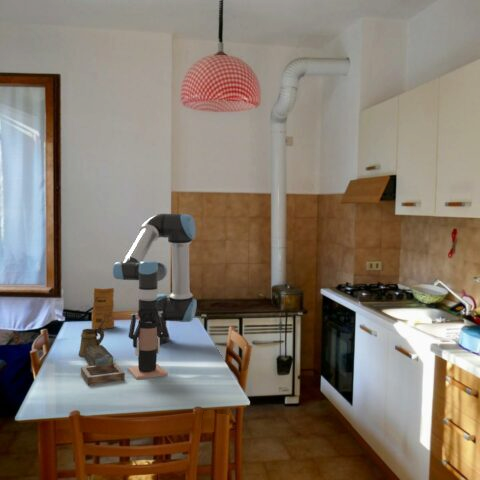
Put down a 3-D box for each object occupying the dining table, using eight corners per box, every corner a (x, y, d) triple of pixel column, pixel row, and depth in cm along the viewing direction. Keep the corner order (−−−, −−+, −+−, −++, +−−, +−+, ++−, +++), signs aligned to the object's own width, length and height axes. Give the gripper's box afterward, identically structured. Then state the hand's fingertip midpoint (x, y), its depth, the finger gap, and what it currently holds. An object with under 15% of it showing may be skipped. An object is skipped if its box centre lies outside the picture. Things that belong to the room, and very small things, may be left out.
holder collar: (115, 370, 220) (115, 363, 219) (124, 380, 207) (124, 372, 207) (80, 374, 213) (80, 367, 213) (88, 385, 201) (88, 377, 201)
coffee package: (92, 325, 300) (92, 286, 298) (115, 325, 301) (115, 286, 300) (89, 329, 290) (90, 289, 289) (113, 329, 291) (113, 289, 290)
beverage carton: (94, 372, 217) (94, 356, 216) (84, 360, 233) (84, 345, 233) (113, 370, 220) (113, 354, 220) (102, 358, 237) (102, 343, 237)
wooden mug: (107, 357, 238) (107, 317, 237) (76, 357, 237) (76, 317, 236) (110, 351, 247) (111, 313, 246) (81, 351, 246) (81, 313, 245)
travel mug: (138, 366, 221) (139, 318, 220) (157, 365, 222) (157, 318, 220) (136, 371, 213) (137, 322, 212) (156, 371, 214) (156, 322, 213)
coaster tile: (157, 366, 226) (157, 363, 226) (167, 375, 215) (167, 372, 215) (127, 369, 220) (127, 367, 220) (136, 379, 209) (136, 376, 209)
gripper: (169, 295, 224) (168, 349, 225) (120, 299, 214) (119, 354, 216) (175, 298, 217) (174, 353, 219) (125, 302, 208) (124, 359, 209)
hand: (147, 354), depth 217 cm, fingers open, 8 cm apart
